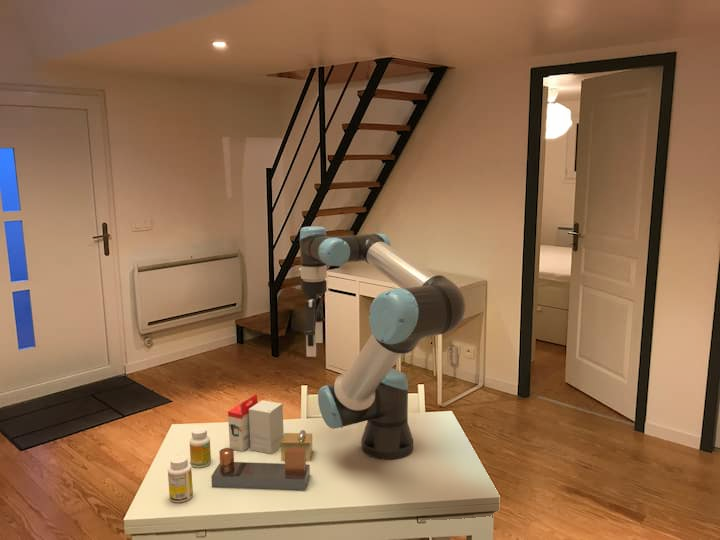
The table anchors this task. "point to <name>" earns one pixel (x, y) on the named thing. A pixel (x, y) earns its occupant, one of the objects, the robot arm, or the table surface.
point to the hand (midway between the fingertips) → (314, 349)
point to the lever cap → (297, 443)
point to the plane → (263, 472)
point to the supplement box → (266, 426)
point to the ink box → (240, 424)
